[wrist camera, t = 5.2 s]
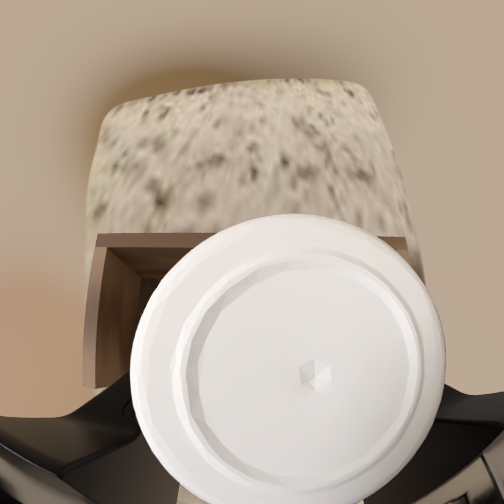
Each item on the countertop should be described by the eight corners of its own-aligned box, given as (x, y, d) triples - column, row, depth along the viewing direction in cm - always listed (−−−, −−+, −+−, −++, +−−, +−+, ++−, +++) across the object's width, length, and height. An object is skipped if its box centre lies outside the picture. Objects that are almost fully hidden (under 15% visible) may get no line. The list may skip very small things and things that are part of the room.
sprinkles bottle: (274, 408, 14) (387, 536, 2) (203, 381, 15) (77, 452, 2) (301, 339, 16) (472, 268, 3) (232, 313, 16) (213, 159, 4)
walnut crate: (373, 376, 17) (421, 380, 11) (126, 379, 16) (82, 385, 10) (365, 269, 20) (405, 237, 14) (133, 267, 19) (97, 233, 13)
